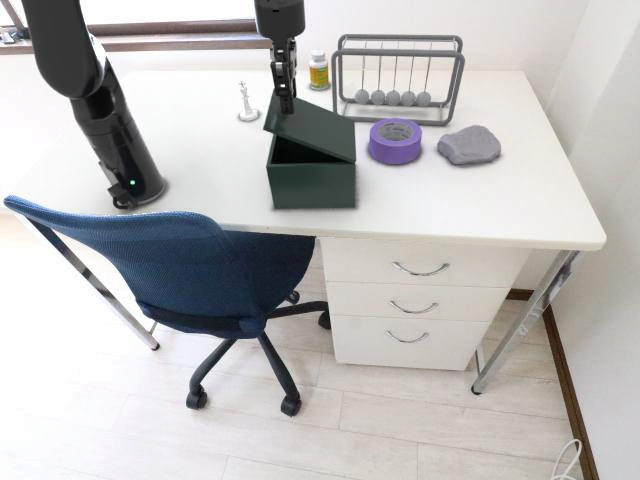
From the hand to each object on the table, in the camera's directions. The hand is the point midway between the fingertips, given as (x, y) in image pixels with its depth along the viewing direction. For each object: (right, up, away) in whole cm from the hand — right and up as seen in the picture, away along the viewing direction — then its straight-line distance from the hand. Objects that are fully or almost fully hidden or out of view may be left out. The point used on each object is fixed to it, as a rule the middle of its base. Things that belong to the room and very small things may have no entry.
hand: (289, 104), depth 67 cm
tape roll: (+23, -3, +22) cm, 32 cm away
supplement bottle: (+6, +22, +45) cm, 50 cm away
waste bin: (+5, -13, +14) cm, 19 cm away
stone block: (+40, -5, +19) cm, 44 cm away
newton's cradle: (+25, +9, +32) cm, 42 cm away
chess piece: (-14, +10, +36) cm, 40 cm away
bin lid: (+4, -3, +3) cm, 6 cm away
